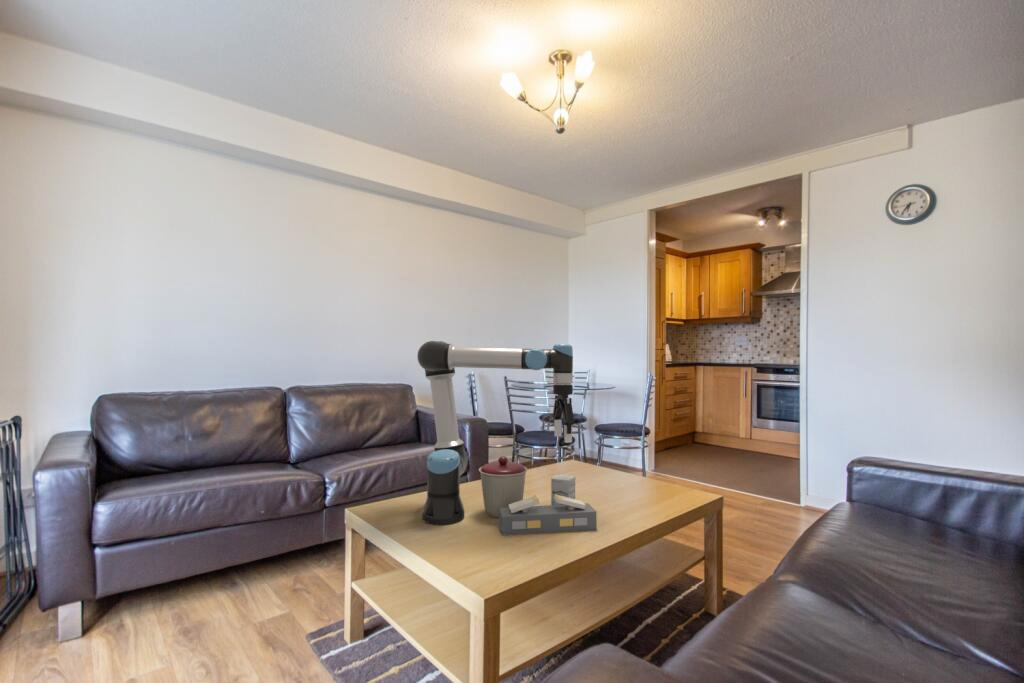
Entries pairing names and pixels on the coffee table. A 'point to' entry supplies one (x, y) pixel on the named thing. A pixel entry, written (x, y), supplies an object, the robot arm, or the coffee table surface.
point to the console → (547, 519)
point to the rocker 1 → (524, 504)
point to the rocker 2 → (569, 501)
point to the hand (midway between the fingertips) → (562, 439)
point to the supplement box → (562, 487)
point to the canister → (502, 484)
